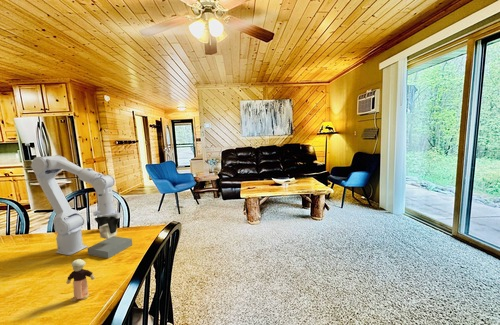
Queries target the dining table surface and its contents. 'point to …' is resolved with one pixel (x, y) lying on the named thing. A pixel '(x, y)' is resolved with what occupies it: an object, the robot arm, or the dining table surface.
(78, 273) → the grandmother figurine
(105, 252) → the base plinth
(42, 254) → the dining table surface
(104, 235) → the cream cube
